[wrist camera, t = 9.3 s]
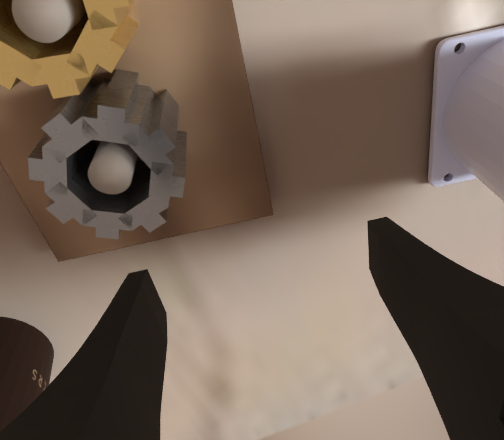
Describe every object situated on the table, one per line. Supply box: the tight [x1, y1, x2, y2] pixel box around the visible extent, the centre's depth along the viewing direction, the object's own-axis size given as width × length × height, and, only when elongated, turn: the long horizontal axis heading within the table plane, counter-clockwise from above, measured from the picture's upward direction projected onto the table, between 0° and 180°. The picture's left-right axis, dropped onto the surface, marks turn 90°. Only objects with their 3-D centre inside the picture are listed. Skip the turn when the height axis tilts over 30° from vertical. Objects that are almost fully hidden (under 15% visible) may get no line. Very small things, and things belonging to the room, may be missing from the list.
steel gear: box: [28, 69, 187, 239], centre depth 18 cm, size 6×6×4 cm
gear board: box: [0, 0, 273, 262], centre depth 17 cm, size 12×18×6 cm, turn 11°
